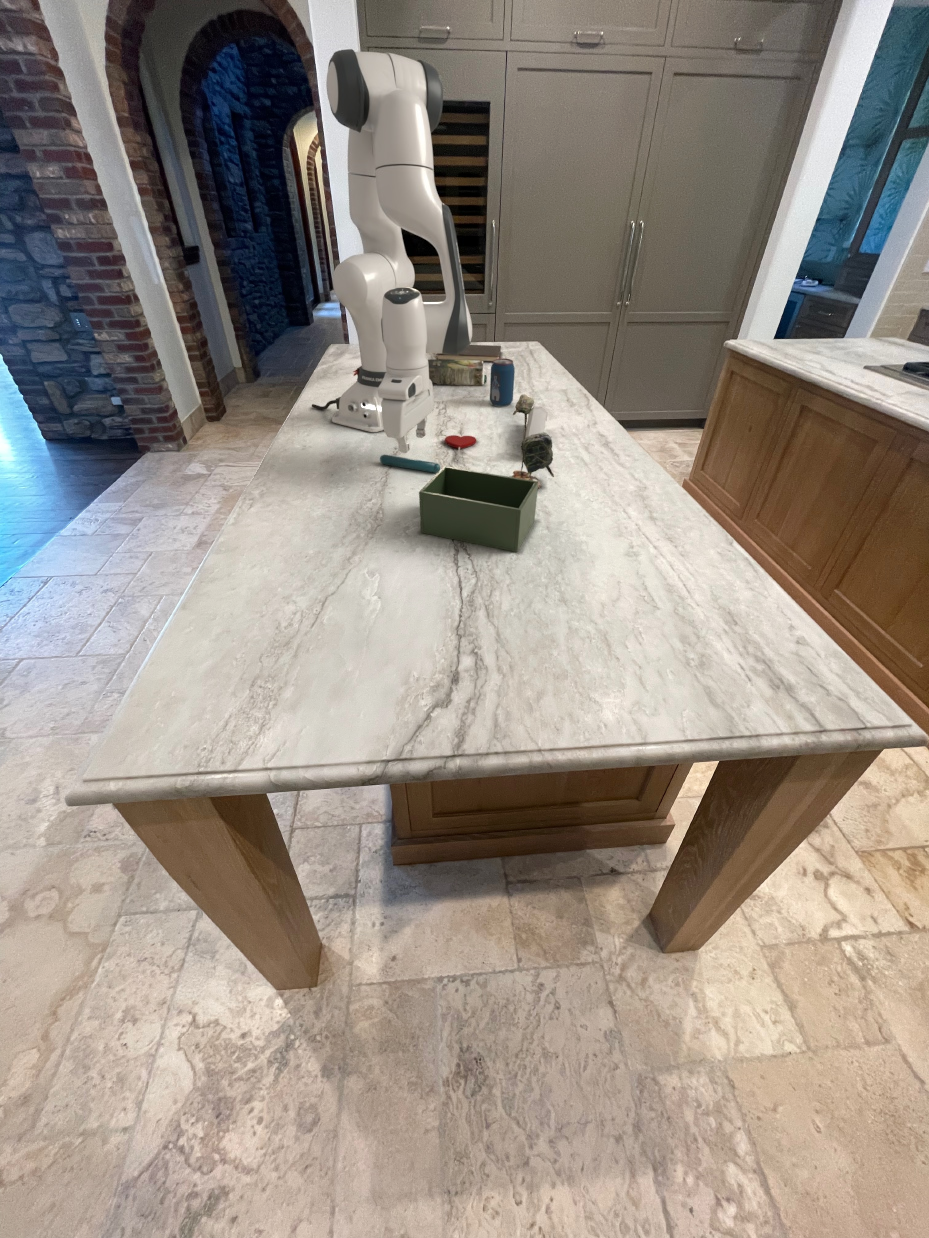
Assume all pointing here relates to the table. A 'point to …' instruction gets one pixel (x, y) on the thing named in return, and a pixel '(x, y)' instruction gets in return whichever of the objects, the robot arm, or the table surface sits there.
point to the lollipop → (460, 442)
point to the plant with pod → (533, 446)
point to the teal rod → (410, 463)
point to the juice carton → (457, 372)
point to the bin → (478, 507)
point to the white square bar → (536, 421)
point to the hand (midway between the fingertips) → (413, 444)
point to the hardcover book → (475, 353)
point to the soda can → (502, 382)
